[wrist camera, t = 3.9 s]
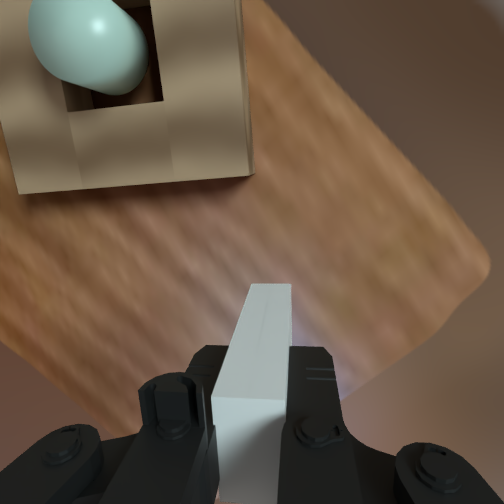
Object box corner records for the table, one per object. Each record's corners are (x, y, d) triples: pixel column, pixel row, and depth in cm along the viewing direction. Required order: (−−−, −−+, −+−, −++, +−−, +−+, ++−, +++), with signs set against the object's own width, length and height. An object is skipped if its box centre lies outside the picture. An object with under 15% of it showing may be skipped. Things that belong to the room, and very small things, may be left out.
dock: (-6, -55, 29) (-52, -88, 25) (232, -103, 26) (221, -147, 22) (50, 190, 34) (18, 194, 30) (255, 173, 31) (249, 175, 27)
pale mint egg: (67, 15, 27) (17, -16, 22) (141, 3, 26) (106, -32, 21) (83, 99, 28) (40, 87, 24) (154, 90, 27) (124, 76, 23)
